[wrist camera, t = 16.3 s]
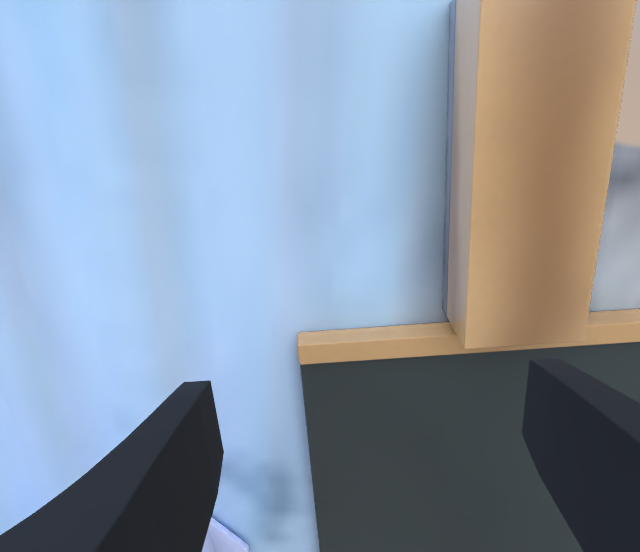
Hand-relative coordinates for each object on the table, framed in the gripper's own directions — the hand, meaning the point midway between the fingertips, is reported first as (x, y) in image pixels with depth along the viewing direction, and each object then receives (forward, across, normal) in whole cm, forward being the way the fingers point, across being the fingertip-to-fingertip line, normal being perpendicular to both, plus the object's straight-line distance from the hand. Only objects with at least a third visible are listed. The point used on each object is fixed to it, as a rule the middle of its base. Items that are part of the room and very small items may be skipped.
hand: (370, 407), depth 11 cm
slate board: (+10, -8, +16) cm, 20 cm away
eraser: (+10, -6, -3) cm, 12 cm away
